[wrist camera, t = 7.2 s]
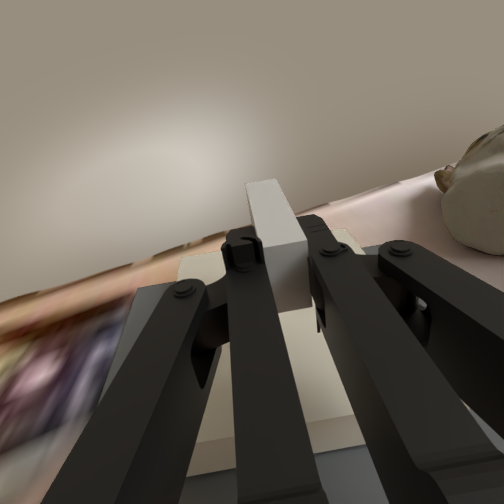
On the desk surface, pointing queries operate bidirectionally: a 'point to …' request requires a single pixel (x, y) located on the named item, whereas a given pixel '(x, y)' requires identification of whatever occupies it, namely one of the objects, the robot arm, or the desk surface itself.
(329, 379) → the glazed tile
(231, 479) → the rubber mat
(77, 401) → the desk surface
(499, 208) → the ceramic sculpture
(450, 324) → the robot arm
